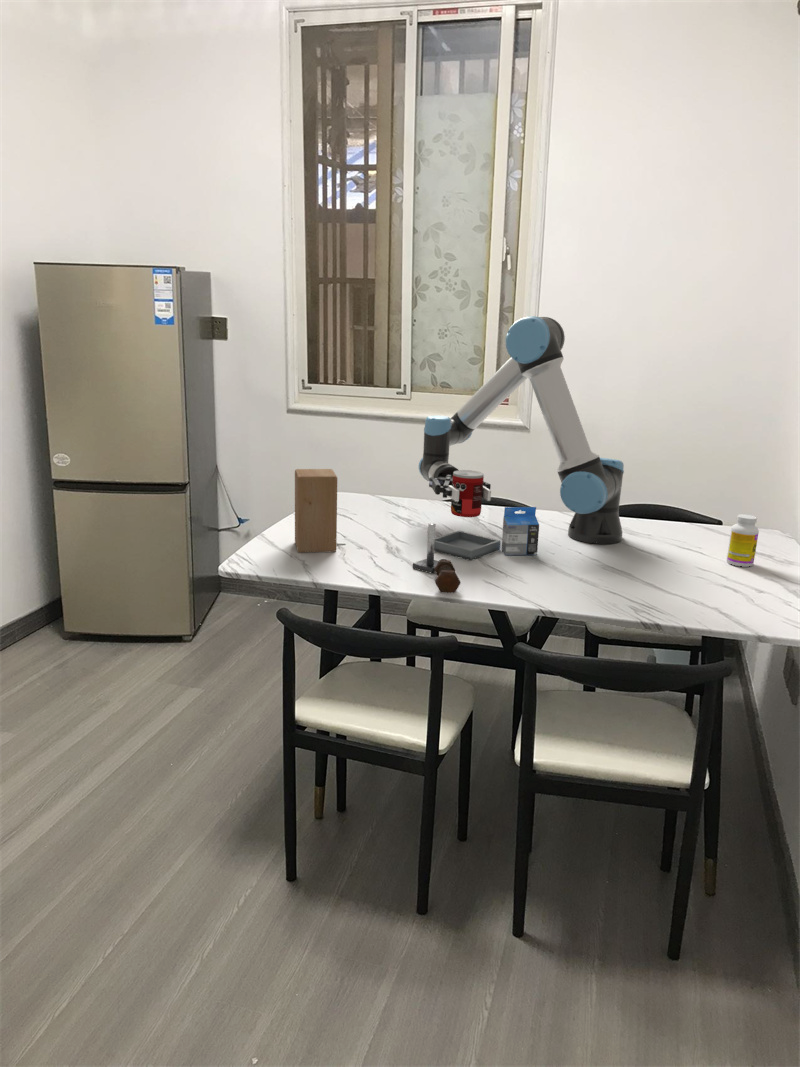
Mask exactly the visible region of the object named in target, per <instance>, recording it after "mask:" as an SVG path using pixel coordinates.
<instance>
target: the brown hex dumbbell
mask: <svg viewBox="0 0 800 1067" xmlns="http://www.w3.org/2000/svg"><path fill="white" fill-rule="evenodd" d="M438 561H439V562H438V563H437V565H436V567H435V573H436V578H435V580H434V583H435V585H436V587H437V588H438V591H439V593H441V594H442V593H443V594H454V593H456V591H457V590H458V589H459V586H460V585H461V584H462V582H461V580H460V578H459V577H458V574H457V573H456V569H455V566H454V565H453V562H452V561H451V560H449V559H444V558H442V559H439V560H438Z"/></svg>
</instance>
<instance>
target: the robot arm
mask: <svg viewBox="0 0 800 1067" xmlns="http://www.w3.org/2000/svg"><path fill="white" fill-rule="evenodd" d="M565 337H566V336H565V331H564V329H563V327H562V325H561V324H560V323H559V321H557V320H556V319H553V318H551V317H548V316H535V315H534V316H533V315H530V316H529V315H528V316H526V317H522V318H519V319H518V320H516V321H514V323H512V324H511V326H509V329H508V331H507V333H506V336H505V348H506V352H507V353H508V355H509V358H508V360H506V361H505V362H504V364H503V365H501V367H500V368H499V369H498V370H497V371H496V372H494V374H492V376H490V377H489V379H488V380H487V381H486V382H485V383H483V385H481V387H480V388H478V390H477V391H475V393H474V394H473V395H472V396H471V397H470V398H469V399H468V400H467V401H466V402H465V403H464V404H463V405H462V406H461V407H460V408H459V409H458V410H457V412H455V413H454V414H453V416H451V417H449V416H446V415H429V416H427V417H426V418H425V422H424V427H423V454H422V457H421V459H420V461H419V463H418V472H419V474H420V475H421V477H422V478H423V479H424V480H425V481H427V482H428V488H431V489H432V491H433V492H434V494H435V495H441V494H442V499H443V498H444V499H447V498H448V497H449V498H452V499H453V500H455V501H459V491H458V490H457V489H456V488H454V487H453V486H452V481H453V472H454V471H458V470H459V468H458V467H455V466H454V465H452V464H450V463H449V457H450V456H449V455H450V447H451V446H453V445H458V444H462V443H464V442H466V441H467V440H469V439H470V438H471V437H472V434H473V431H474V430H476V428H477V427H478V426H480V425H481V424H482V422H484V421H485V420H486V419H487V418H488V417H489V416H490V415H491V414H492V413H493V412H494V411H495V410H496V409H497V408H498V407H500V405H501V404H502V403H503V402H504V401H505V400H506V399H507V398H508V397H510V395H512V394H513V393H514V392H515V391H516V390H517V388H519V387H520V386H521V385H522V384H523V383H524V381H526V380H527V379H529V381H530V383H531V386H532V389H533V392H534V395H535V397H536V401H537V403H538V407H539V408H540V412H541V414H542V416H543V419H544V422H545V425H546V427H547V430H548V433H549V435H550V438H551V441H552V444H553V448H554V450H555V452H556V455H557V458H558V462H559V466H558V467H557V471H556V472H557V474H558V478H559V480H560V483H561V484H560V489H559V496H560V498H561V499H560V500H561V502H562V503H563V505H564V506H565V507H566V508H567V509H568V510H570V511H572V512H573V513H574V514H573V516H572V519H571V521H570V523H569V525H568V531H567V535H568V537H569V538H571V539H573V540H576V541H578V542H579V541H580V542H583V543H589V544H596V545H597V544H599V545H608V544H609V545H610V544H611V545H612V544H616V543H617V544H618V543H620V542H621V541H622V540H623V530H622V529H623V528H622V523H621V520H620V513H619V512H620V511H619V510H620V504H621V503H620V501H621V493H622V484H623V478H624V477H623V476H624V473H625V470H624V461H622V460H620V459H613V458H606V457H600V455H599V454H597V453H594V452H593V451H592V450H591V448H590V445H589V441H588V438H587V436H586V433H585V430H584V428H583V425H582V422H581V419H580V417H579V413H578V411H577V409H576V406H575V403H574V400H573V397H572V395H571V392H570V388H569V386H568V384H567V381H566V379H565V375H564V373H563V370H562V368H561V366H562V364H563V361H564V356H563V353H562V349H563V348H564V345H565V342H566V341H565V339H566V338H565ZM491 485H492V484H491V483H488V482H486V481H484V480H483V493H482V499H484V500H486V501H487V502H491V499H492V498H491V497H492V488H491V487H492V486H491Z"/></svg>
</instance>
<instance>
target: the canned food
mask: <svg viewBox="0 0 800 1067" xmlns="http://www.w3.org/2000/svg"><path fill="white" fill-rule="evenodd" d="M484 478H485V476H484V473H483V472H481V471H477V470H470V469H458V471H454V472H453V481H452V486H453V487H454V488H456V489H457V490H458V491H459V501H455V500H453V499H452V498H451V502H450V512H451V514H452V515H454V516H456V517H462V518H476V517H479V516H480V515H481V513H482V502H483V497H482V493H483V481H484Z"/></svg>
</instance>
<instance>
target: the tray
mask: <svg viewBox="0 0 800 1067" xmlns="http://www.w3.org/2000/svg"><path fill="white" fill-rule="evenodd" d="M501 543H502V540H499V539H495V538H490V537H487V536H483V535H478V534H474V533H470V532H466V531H461V530H456V531H453V532H450V533H447V534H444V535H441V536H438V537H435V549H434V552H437V553H441V554H444V555H448V556H452V557H455V558H460V559H463V560H467V561H471V562H472V561H473V560H477V559H479V558H482V557H486V556H488V555H490V554H494V553H495V552H499V551H501Z"/></svg>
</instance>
